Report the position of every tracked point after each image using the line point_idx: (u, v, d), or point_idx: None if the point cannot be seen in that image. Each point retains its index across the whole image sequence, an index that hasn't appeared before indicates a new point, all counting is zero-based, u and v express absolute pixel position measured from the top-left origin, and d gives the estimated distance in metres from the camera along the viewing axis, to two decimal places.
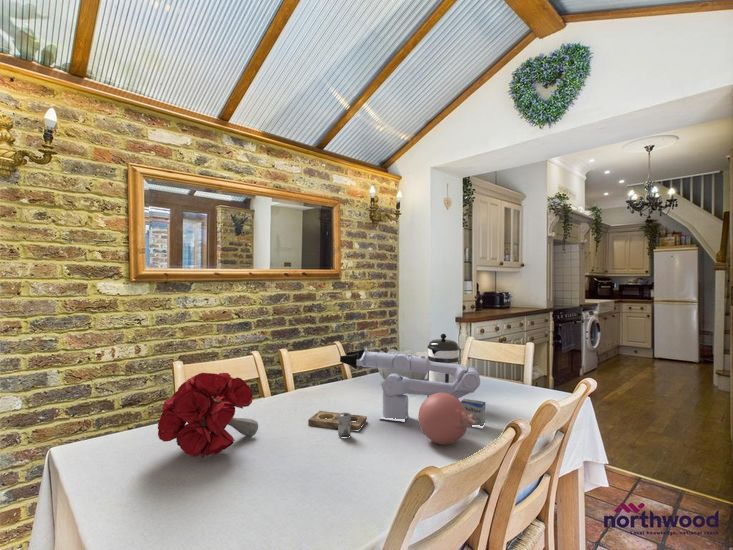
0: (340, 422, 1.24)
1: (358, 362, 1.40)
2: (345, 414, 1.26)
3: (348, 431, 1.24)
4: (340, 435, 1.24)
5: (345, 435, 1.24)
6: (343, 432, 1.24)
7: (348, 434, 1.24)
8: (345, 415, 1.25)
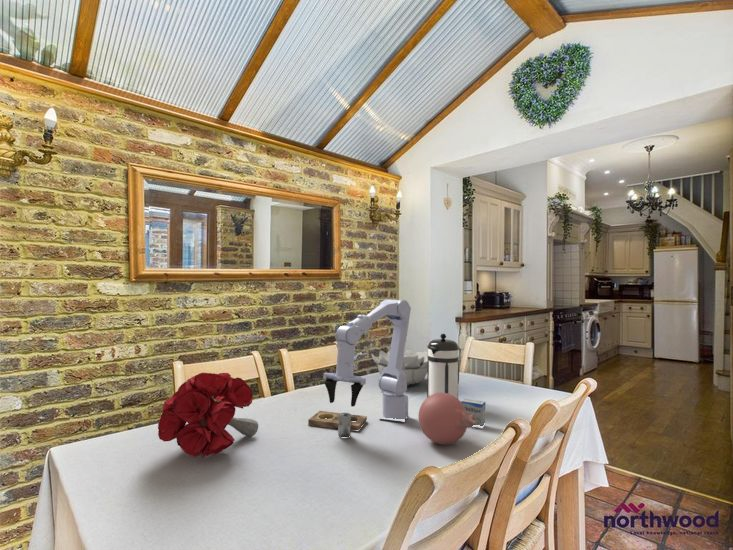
0: (340, 422, 1.24)
1: (364, 381, 1.25)
2: (345, 414, 1.26)
3: (348, 431, 1.24)
4: (340, 435, 1.24)
5: (345, 435, 1.24)
6: (343, 432, 1.24)
7: (348, 434, 1.24)
8: (345, 415, 1.25)
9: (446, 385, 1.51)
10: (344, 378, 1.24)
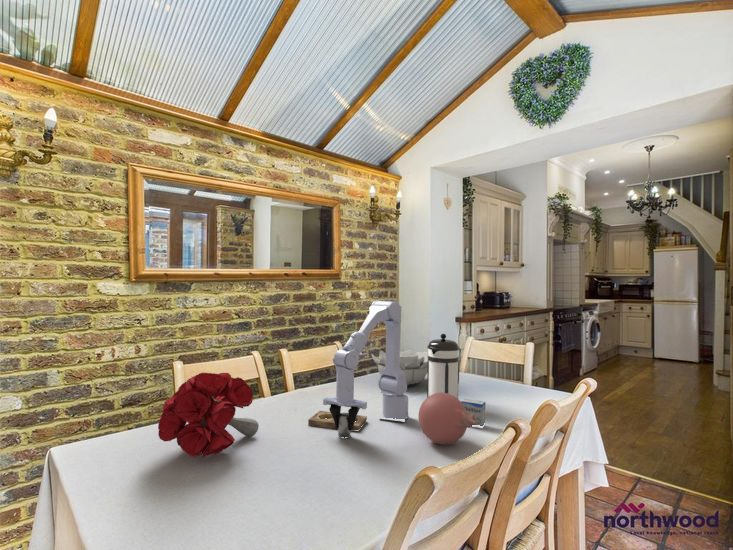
0: (340, 422, 1.24)
1: (366, 405, 1.24)
2: (345, 414, 1.26)
3: (348, 431, 1.24)
4: (340, 435, 1.24)
5: (345, 435, 1.24)
6: (343, 432, 1.24)
7: (348, 434, 1.24)
8: (345, 415, 1.25)
9: (446, 385, 1.51)
10: (345, 404, 1.23)
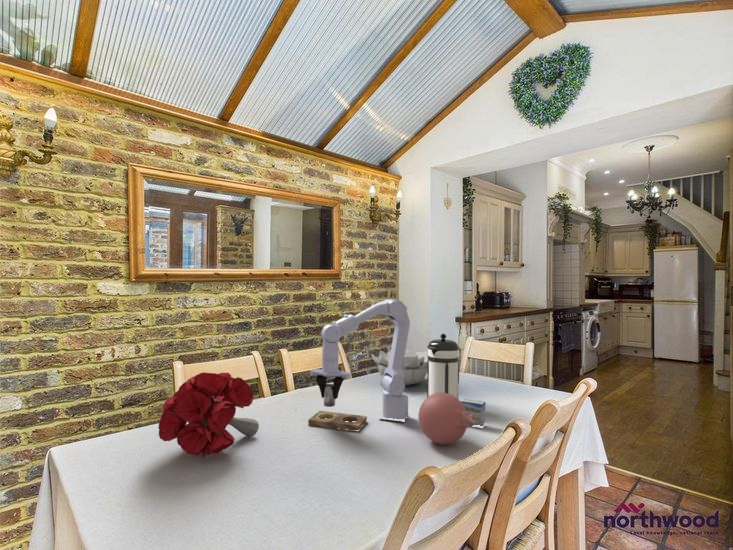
0: (326, 391, 1.34)
1: (349, 376, 1.34)
2: (330, 384, 1.36)
3: (333, 400, 1.35)
4: (326, 403, 1.34)
5: (330, 403, 1.34)
6: (328, 400, 1.34)
7: (333, 402, 1.35)
8: (330, 385, 1.36)
9: (446, 385, 1.51)
10: (330, 374, 1.33)
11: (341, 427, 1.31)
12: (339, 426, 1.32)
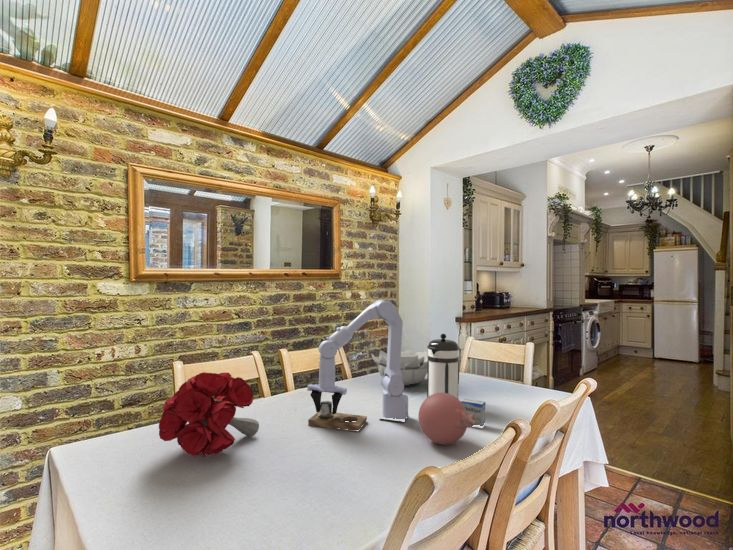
0: (322, 409, 1.37)
1: (345, 391, 1.36)
2: (327, 402, 1.38)
3: (330, 417, 1.37)
4: None
5: None
6: (325, 418, 1.36)
7: None
8: (327, 403, 1.38)
9: (446, 385, 1.51)
10: (327, 389, 1.36)
11: (341, 427, 1.31)
12: (339, 426, 1.32)
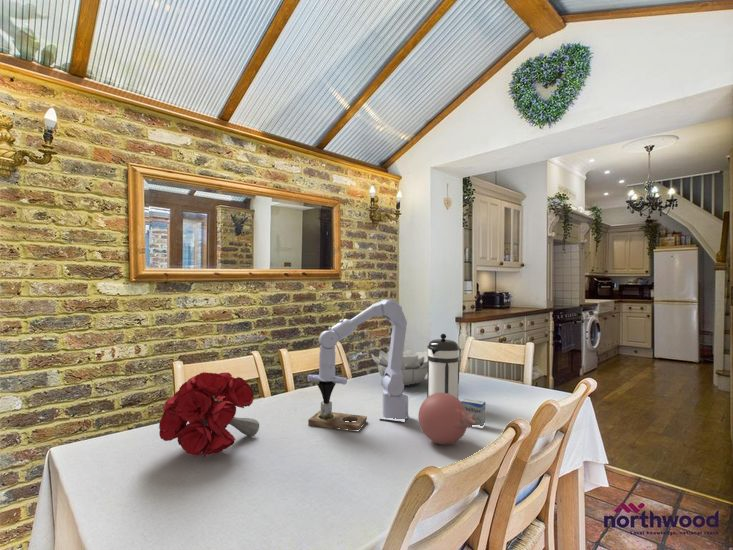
0: (322, 409, 1.37)
1: (345, 381, 1.37)
2: None
3: (330, 417, 1.37)
4: None
5: None
6: (325, 418, 1.36)
7: None
8: (326, 403, 1.38)
9: (446, 385, 1.51)
10: (327, 379, 1.36)
11: (341, 427, 1.31)
12: (339, 426, 1.32)
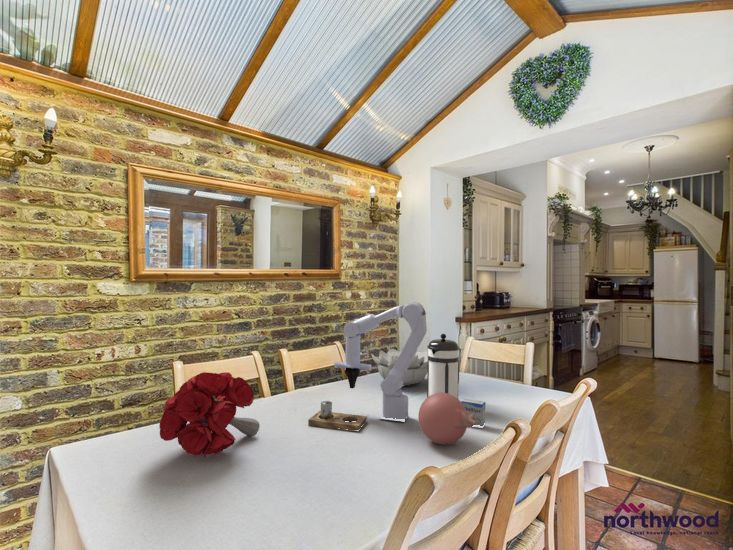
0: (322, 409, 1.37)
1: (370, 367, 1.48)
2: (327, 402, 1.38)
3: (330, 417, 1.37)
4: None
5: None
6: (325, 418, 1.36)
7: None
8: (326, 403, 1.38)
9: (446, 385, 1.51)
10: (353, 366, 1.47)
11: (341, 427, 1.31)
12: (339, 426, 1.32)
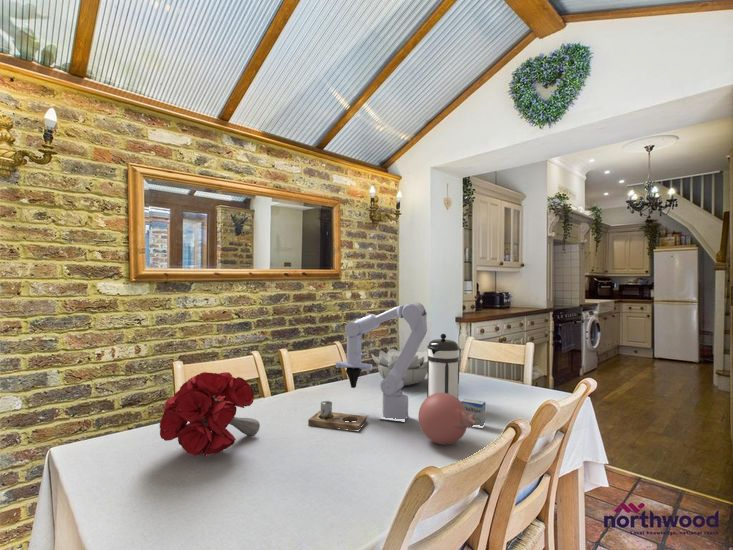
0: (322, 409, 1.37)
1: (371, 367, 1.48)
2: (327, 402, 1.38)
3: (330, 417, 1.37)
4: None
5: None
6: (325, 418, 1.36)
7: None
8: (326, 403, 1.38)
9: (446, 385, 1.51)
10: (354, 366, 1.48)
11: (341, 427, 1.31)
12: (339, 426, 1.32)
